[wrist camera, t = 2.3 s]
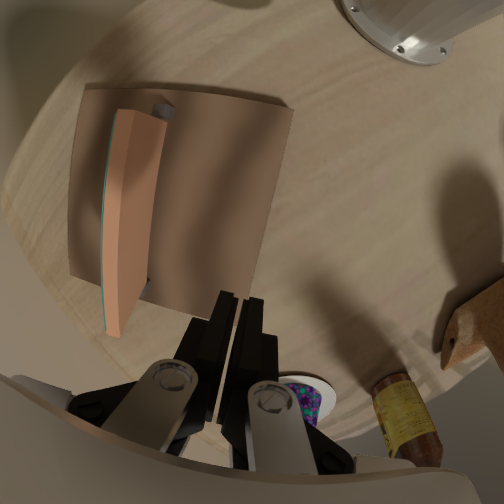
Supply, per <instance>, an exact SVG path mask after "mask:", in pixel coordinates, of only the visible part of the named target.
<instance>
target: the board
mask: <svg viewBox="0 0 504 504" xmlns="http://www.w3.org/2000/svg"><path fill="white" fill-rule="evenodd" d="M118 109H127V110H137V111H139V112H142V113H145V114H147V115H150V116H152V117H155V118H158V119H160V120H163V121H165V122H168V123H167V127H166V132H165V137H164V142H163V147H162V153H161V158H160V164H159V170H158V176H157V182H156V189H155V196H154V204H153V212H152V220H151V230H150V240H149V252H148V266H147V283H146V285H145V287H144V289H143V291H142V293H141V295H140V297H139V299H140V300H143V301H146V302H150V303H153V304H156V305H159V306H163V307H166V308H170V309H173V310H177V311H180V312H184V313H187V314H191V315H195V316H198V317H202V318H206V319H210V317H211V314H212V312H213V309H214V306H215V304H216V301H217V298H218V296H219V293H220V290H223V291H227V292H232V293H234V297H237V298H239V301H238V305H237V310H236V314H235V319H234V323H233V325H234V326H237V324H238V320H239V316H240V312H241V307H242V303H243V299H246V300H247V299H248V295H249V291H250V287H251V283H252V279H253V275H254V271H255V267H256V263H257V259H258V255H259V251H260V247H261V243H262V239H263V235H264V231H265V227H266V223H267V219H268V215H269V211H270V207H271V203H272V199H273V195H274V191H275V187H276V183H277V178H278V174H279V170H280V166H281V162H282V158H283V154H284V150H285V146H286V141H287V137H288V133H289V129H290V125H291V121H292V116H293V112H294V109H291V108H287V107H282V106H278V105H274V104H269V103H264V102H259V101H254V100H249V99H243V98H238V97H231V96H225V95H218V94H210V93H202V92H193V91H182V90H168V89H144V88H115V89H92V90H84V93H83V98H82V102H81V107H80V111H79V116H78V121H77V127H76V133H75V139H74V146H73V154H72V162H71V173H70V185H69V205H68V244H69V264H70V275H72V276H74V277H77V278H80V279H82V280H85V281H88V282H90V283H93V284H96V285H99V286H101V218H102V202H103V190H104V180H105V171H106V163H107V156H108V149H109V143H110V137H111V132H112V126H113V121H114V116H115V113H117V111H118Z"/></svg>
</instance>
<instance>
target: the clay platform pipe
mask: <svg viewBox="0 0 504 504" xmlns="http://www.w3.org/2000/svg"><path fill="white" fill-rule="evenodd" d="M485 346H486V347H487V348H488V349H489V350H490V351H491V353H492V354H493V356H494V358H495V360H496V362H497V364H498V366H499V368H500V370H501V371H502V373H503V374H504V278H502V279H500V280H498V281H497V282H495V283H494V284H493V285H491V286H489V287H488V288H487V289H485V290H484V291H482V292H481V293H479V294H478V295H476V296H475V297H473V298H472V299H470V300H469V301H467V302H466V303H464V304H463V305H461V306H460V307H458V308H457V309H456V310H455V311H454V313H453V315H452V317H451V319H450V321H449V323H448V326H447V329H446V331H445V337H444V340H443V344H442V353H441V365H440V366H441V369H442V370H443V371H445V370H447V369H448V368H450V367H452V366H454V365H455V364H457V363H459V362H461V361H463V360H464V359H466V358H468V357H469V356H471V355H473V354H474V353H476V352H477V351H479V350H480V349H482V348H483V347H485Z"/></svg>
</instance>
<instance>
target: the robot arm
mask: <svg viewBox="0 0 504 504" xmlns="http://www.w3.org/2000/svg"><path fill="white" fill-rule="evenodd" d="M340 2H341V5H342V7H343V10H344V12H345V14H346V16H347V17H348V19H349V21H350V22H351V23H352V24H353V25H354V27H355V28H356V29H357V30H358V31H359V32H360V33H361V34H362V35H363V36H364V37H365V38H366V39H367V40H368V41H369V42H371V43H372V44H373V45H374V46H376V47H377V48H379V49H380V50H382V51H383V52H385V53H386V54H388V55H390V56H392V57H394V58H396V59H398V60H401V61H403V62H406V63H409V64H414V65H419V66H430V65H435V64H438V63H440V62H442V61H444V60H445V59H447V58H448V57H449V56H450V54H451V52H452V50H453V46H454V37H455V36H457V35H459V34H460V33H462V32H464V31H466V30H468V29H470V28H472V27H474V26H476V25H478V24H481V23H483V22H485V21H487V20H489V19H491V18H494V17H496V16H498V15H500V14H503V13H504V0H340ZM238 301H239V298H237V297H234V293H232V292H227V291H223V290H220V293H219V296H218V298H217V301H216V304H215V306H214V309H213V312H212V314H211V317H210V320H209V321H207V320H203V319H199V318H195V317H193V318H192V319H191V321H190V323H189V326H188V328H187V330H186V332H185V334H184V336H183V338H182V341H181V343H180V345H179V347H178V349H177V351H176V354H175V356H174V358H173V359H163V360H159V361H157V362H154V363H153V364H152V365H151V366H150V367H149V368H148V369H147V371H146V372H145V373H144V374H143V376H142V377H141V378H140V379H139V380H138V381H135V382H131V383H127V384H123V385H119V386H114V387H110V388H105V389H101V390H96V391H91V392H86V393H83V394H80V395H77V396H75V395H72V393H71V391H68V390H65V389H62V388H58V387H55V386H52V385H49V384H46V383H43V382H41V381H37V380H35V379H32V378H29V377H27V376H23V375H15V376H13V377H11V378H8V377H6V376H4V375H2V374H0V504H481V502H480V500H479V497H478V495H477V493H476V491H475V489H474V487H473V485H472V483H471V482H470V480H469V479H468V478H467V477H466V476H465V475H464V474H462V473H460V472H457V471H454V470H450V469H445V468H438V467H416V466H415V465H414V463H412V462H411V461H409V460H405V459H394V458H384V457H375V456H367V455H360V454H357V455H356V456H355V457H354V456H350V454H349V453H348V452H347V451H346V450H344V449H343V448H342V447H340V446H339V445H337V444H336V443H335V442H333V441H332V440H331V439H329V438H328V437H327V436H325V435H324V434H323V433H322V432H320V431H319V430H318V429H316V428H315V427H314V426H313V425H311V424H310V423H309V422H308V421H306V420H305V419H304V418H303V417H302V413H301V410H300V406H299V403H298V399H297V397H296V395H295V393H294V392H293V391H292V390H291V389H290V388H289V387H287V386H286V385H284V384H282V383H279V373H278V338H277V336H275V335H270V334H265V333H262V325H263V305H264V300H263V299H258V298H254V297H249V300H246V299H243V303H242V307H241V312H240V316H239V320H238V324H237V328H236V332H235V337H234V341H233V345H232V349H231V353H230V358H229V363H228V368H227V373H226V378H225V383H224V388H223V392H222V397H221V402H220V407H219V412H218V417H217V422H216V424H221V425H222V428H221V433H222V435H223V436H224V437H225V438H226V439H227V441H228V442H229V443H230V445H229V459H230V468H227V467H221V466H216V465H211V464H206V463H202V462H198V461H193V460H189V459H185V458H182V457H181V456H182V454H183V452H184V450H185V448H186V446H187V444H188V442H189V440H190V436H191V435H192V434H194V433H197V432H199V431H201V430H202V429H203V428H204V424H205V421H207V422H211V421H212V417H213V412H214V408H215V404H216V399H217V395H218V390H219V386H220V382H221V377H222V373H223V368H224V364H225V360H226V355H227V350H228V346H229V341H230V337H231V332H232V328H233V323H234V319H235V314H236V310H237V305H238Z"/></svg>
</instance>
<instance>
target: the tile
mask: <svg viewBox="0 0 504 504" xmlns="http://www.w3.org/2000/svg"><path fill="white" fill-rule="evenodd" d="M167 123H168V122H165V121H163V120H160V119H158V118H155V117H152V116H150V115H147V114H145V113H142V112H139V111H137V110H127V109H118V111H117V113H115V116H114V121H113V126H112V132H111V137H110V143H109V149H108V156H107V163H106V171H105V180H104V190H103V202H102V218H101V288H102V304H103V316H104V326H105V330H106V331H107V335H109V336H113V337H117V338H120V337H121V335H122V333H123V331H124V328H125V326H126V324H127V322H128V320H129V318H130V315H131V313H132V311H133V309H134V307H135V305H136V303H137V301H138V299H139V297H140V295H141V293H142V291H143V289H144V287H145V285H146V283H147V266H148V252H149V240H150V230H151V220H152V212H153V204H154V196H155V189H156V182H157V176H158V170H159V164H160V158H161V153H162V147H163V142H164V137H165V132H166V127H167Z"/></svg>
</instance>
